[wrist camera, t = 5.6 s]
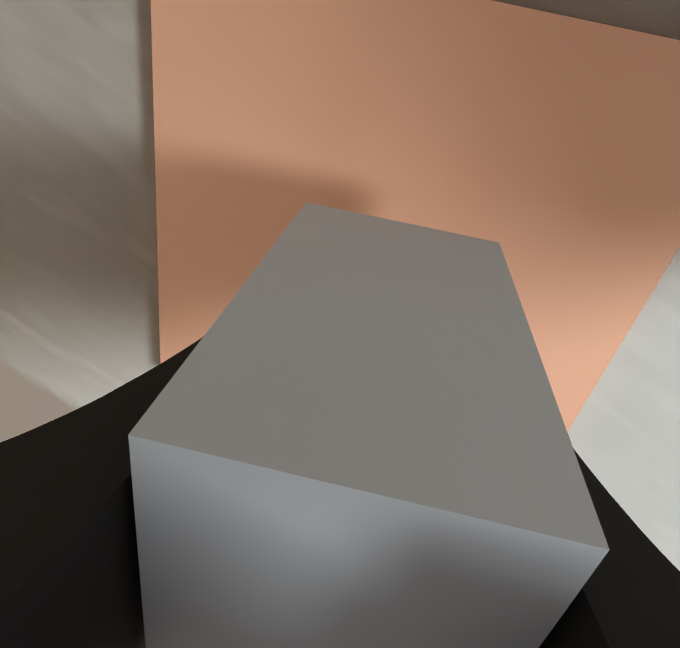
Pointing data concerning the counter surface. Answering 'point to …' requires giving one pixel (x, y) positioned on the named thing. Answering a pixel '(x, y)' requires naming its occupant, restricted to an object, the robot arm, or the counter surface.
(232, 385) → the slate block
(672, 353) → the counter surface
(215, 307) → the terracotta tile
